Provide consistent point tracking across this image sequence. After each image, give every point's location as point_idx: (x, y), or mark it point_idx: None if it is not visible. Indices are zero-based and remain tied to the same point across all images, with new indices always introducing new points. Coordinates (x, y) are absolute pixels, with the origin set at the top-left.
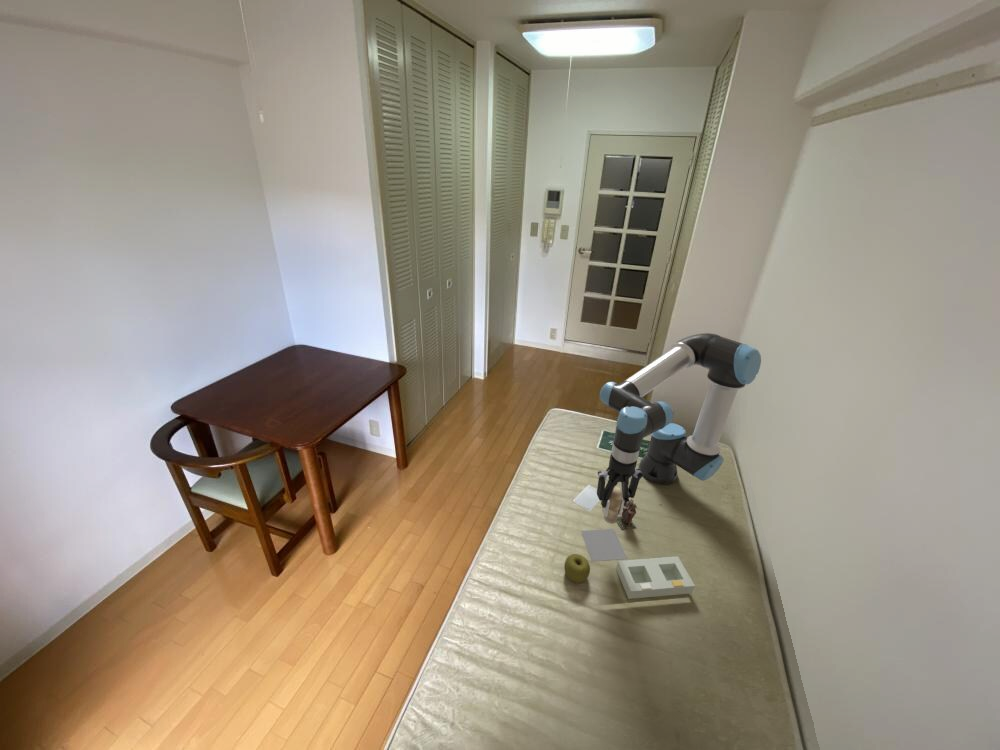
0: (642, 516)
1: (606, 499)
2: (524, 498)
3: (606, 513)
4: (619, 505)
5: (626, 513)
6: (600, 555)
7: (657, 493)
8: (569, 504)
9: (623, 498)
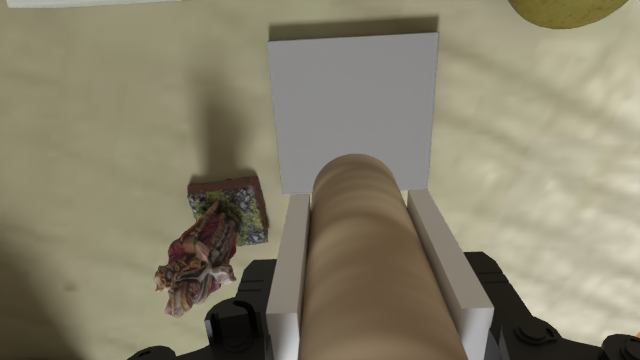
0: (150, 244)
1: (541, 345)
2: (584, 334)
3: (428, 206)
4: (328, 262)
5: (217, 247)
6: (385, 63)
7: (74, 330)
8: None
9: (271, 342)
